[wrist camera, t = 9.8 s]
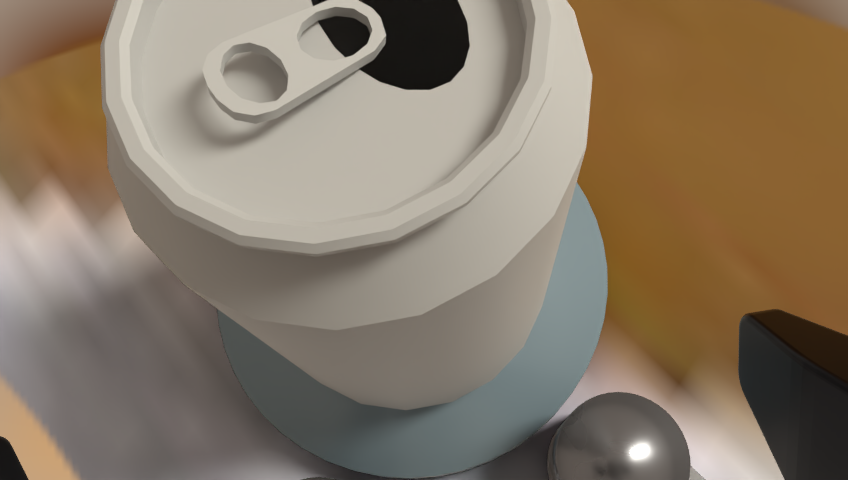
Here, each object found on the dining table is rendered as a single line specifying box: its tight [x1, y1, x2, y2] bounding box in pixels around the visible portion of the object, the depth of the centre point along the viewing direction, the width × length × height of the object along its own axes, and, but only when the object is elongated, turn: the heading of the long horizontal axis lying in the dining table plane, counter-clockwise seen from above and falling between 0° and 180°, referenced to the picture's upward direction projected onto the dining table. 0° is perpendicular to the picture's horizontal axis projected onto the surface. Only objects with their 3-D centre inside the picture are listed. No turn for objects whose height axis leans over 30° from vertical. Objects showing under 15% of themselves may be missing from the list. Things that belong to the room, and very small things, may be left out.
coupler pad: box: [217, 182, 607, 479], centre depth 22 cm, size 11×11×1 cm
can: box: [101, 0, 592, 410], centre depth 16 cm, size 8×8×12 cm
